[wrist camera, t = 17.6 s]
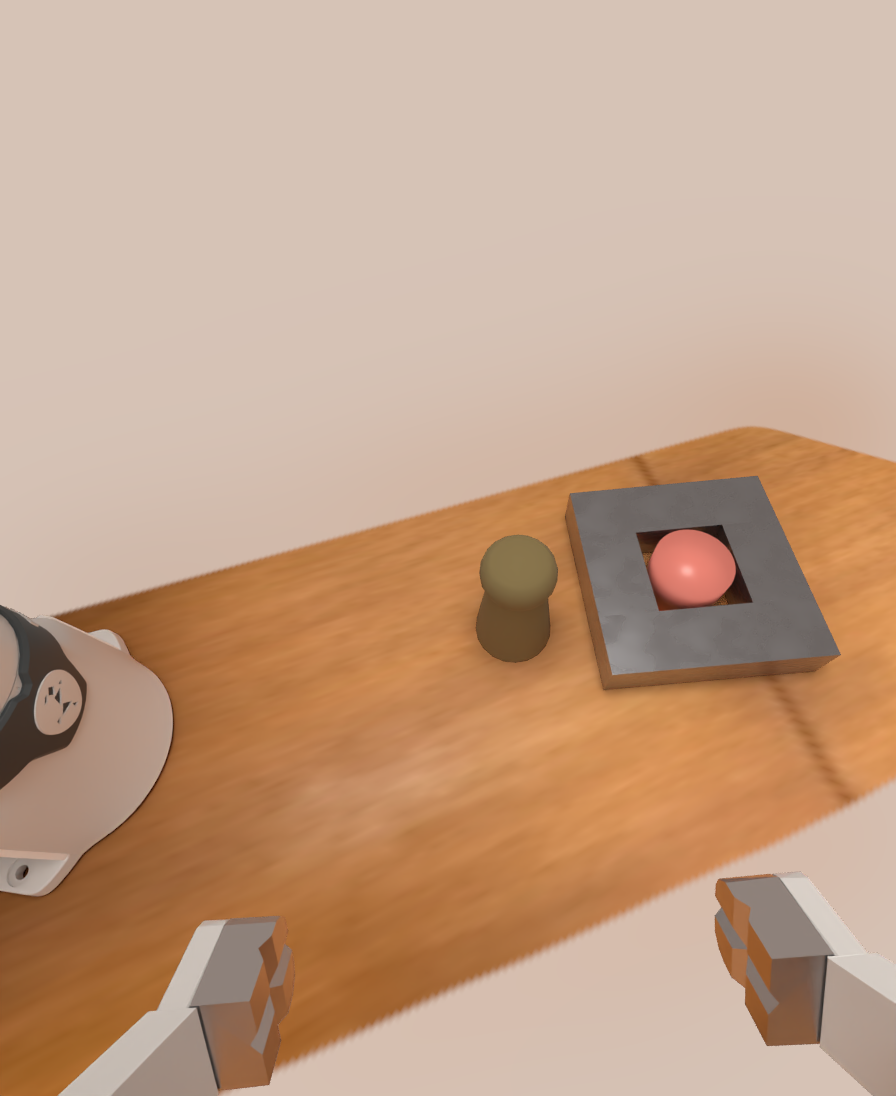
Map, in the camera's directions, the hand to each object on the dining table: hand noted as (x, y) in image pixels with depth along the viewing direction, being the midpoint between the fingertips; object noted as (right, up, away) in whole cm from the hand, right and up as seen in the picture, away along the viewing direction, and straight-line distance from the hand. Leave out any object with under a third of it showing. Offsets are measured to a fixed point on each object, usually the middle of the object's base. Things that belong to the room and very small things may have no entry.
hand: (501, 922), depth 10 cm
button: (+18, +4, +35) cm, 40 cm away
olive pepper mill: (+4, 0, +35) cm, 35 cm away
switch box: (+18, +4, +35) cm, 40 cm away
